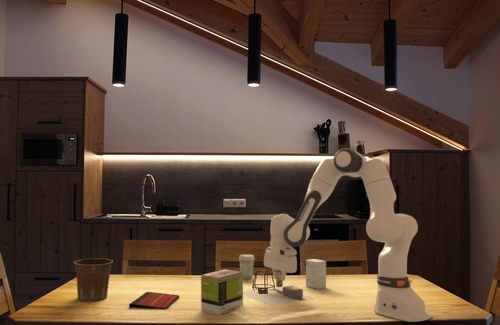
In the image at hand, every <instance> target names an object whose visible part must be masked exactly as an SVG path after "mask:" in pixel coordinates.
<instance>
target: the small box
mask: <svg viewBox="0 0 500 325" xmlns="http://www.w3.org/2000/svg"><path fill="white" fill-rule="evenodd" d="M305 286H306V287H309V288H313V289H315V290H316V289H317V290H319V289H324V288H327V260H322V259H316V258H312V259H310V258H309V259H305Z"/></svg>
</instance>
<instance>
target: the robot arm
mask: <svg viewBox="0 0 500 325" xmlns="http://www.w3.org/2000/svg"><path fill="white" fill-rule="evenodd" d="M341 177H346V178H353V179H359V178H361V179H362V181H363V185H364V188H365V192H366V194H367V198H368V203H369V208H370V213H369V218H368V220H367V222H366V225H365V226H366V227H365V231H366V234H367V236H368V237H369V238H370V239H371V240H372V241H374V242H379V243H384V246H383V249H382V250H381V251H380V252H379V254H378V260H377V261H378V263H377V264H378V269H377V270H378V273H377V275H376V276H377V278H376V279H377V280H376V283H377V292H376V298H375V300H376V301H375V305H374V308H373V309H374V314H375V315H380V316H384V317H388V318H392V319H397V320H400V321H405V322H408V323H411V322H412V323H415V322H423V321H427V320H430V319H432V318H433V317H432V313H430V312H428V311H426V305H425V304H426V303H425V301H424V299H423V298H422V297H421V296H420V295H419V294H418V293H417V291H415V290H414V289H413V288H412V286H411V284H412V283H414V282H413V279H409V277H408V275H407V272H408V268H407V267H408V254H409V250H410V246H411V243H412V241H413V239H414V237H415V236H416V234H417V233H418V229H419V225H418V222H417V220H416V219H415V217H413V216H412V215H409V214H405V213H395V210H394V206H395V202H396V200H397V194H396V191H395V188H394V185H393V182H392V179H391V176H390V173H389V171H388V170H387V167H386V165H385V164H384V162H383V161H382V160H381V159H380V158H375V157H372V158H368V159H367V158H366V157H365V156H363V155H362V154H361V153H360V152H358V151H356V150H354V149H351V148H346V147H345V148H342V149H339V150H337V151H336V153H335V154H334V156H333V157H326V158H324V159H323V160H322V161H320V163H319V165H318V166H317V168H316V170H315V171H314V173H313V175H312V177H311V178H310V182H309V184H308V187H307V190H306V191H307V192H306V194H305V198H304V199H303V203H302V204H301V207H300V209H299V210H298V212H297V215H296V216H295V218H293V217H292V216H290V215H289V214H288V213H280V214H275V215H273V216H272V217H271V220H270V230H269V231H270V232H269V233H270V241H269V244H270V245H269V246H267V247H266V249H265V252H264V257H263V265H264V267H266V268H270V269H271V271H272V274H273V279H275V280H276V271H277V270H281V273H282V275H281V276H280V280H282V281H283V282H284V281H286V280H285V279H286V276H287V274H288V273H289V274H292V273H296V272H297V269H298V268H297V267H298V262H297V260H298V259H297V258H298V257H297V254H298V252H297V250H296V249H295V248H299V247H301V246H303V245H304V243H305V242H306V241H307V240H308V239H309V237H310V235H311V230H310V226H309V224H310V223H311V221H312V218H313V217H314V215H315V213H316V211H317V210H318V208H319V207H320V206H321V205H322V204H323V203H325V201H327V200H328V198H329V197H330V196H331V194H332V193H333V191H334V190H335V187H336V185H337V184H338V181H339V180H340V179H341Z"/></svg>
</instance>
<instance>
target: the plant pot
mask: <svg viewBox="0 0 500 325" xmlns="http://www.w3.org/2000/svg"><path fill="white" fill-rule="evenodd" d="M113 263H114V260H113V259H109V258H83V259H78V260H74V262H73V264H74V265H75V266H74V268H75V273H76V274H75V275H76V287H77V288H76V290H77V300H78V301H80V302H91V301H94V302H99V301H103V300H106V299H107V297H108V289H109V283H110V274H111V271H112V265H113Z"/></svg>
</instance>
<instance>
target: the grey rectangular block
mask: <svg viewBox="0 0 500 325" xmlns="http://www.w3.org/2000/svg"><path fill="white" fill-rule="evenodd" d="M282 288H283V295H284V296H287V297H290V298H292V299H296V298H303V296H304V294H303V293H304V291H303V290H304V289H302V288H300V287H297V286H294V285H287V286H286V285H285V286H283V287H282Z"/></svg>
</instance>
